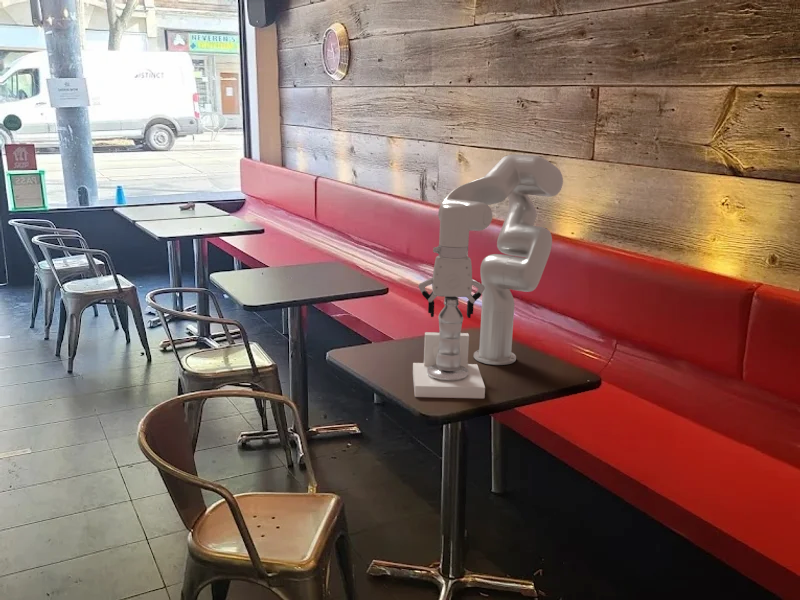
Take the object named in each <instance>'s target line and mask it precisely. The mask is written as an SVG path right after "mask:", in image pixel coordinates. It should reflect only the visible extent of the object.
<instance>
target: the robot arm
mask: <svg viewBox="0 0 800 600" xmlns="http://www.w3.org/2000/svg"><path fill="white" fill-rule="evenodd" d="M563 179H564V178H563V173H562V172H561V170H560V169H559V168H558V167H557V166H556V165H554V164H553V163H552V162H550V161H549V160H548V159H546V158H544V157H542V156H539V155H529V154H515V153H514V154H508V155H505V156H503V157H502V158H501V159H500V160H499V161H498V162H497V163H496V164H495V165H494V166H493V167H492V168H491V169H490V170H489V171H488V172H487V173H486V174H485V175H484V176H483V177H479V178H477V179H475V180H472V181H470V182H466V183H463V184H462V185H459V186H458V187H455V188H454V189H453V190H451V191H450V193H448V194H447V196H445V197H444V199H442V202H441V203H440V206H439V208H438V212H437V213H438V215H437V216H438V220H439V237H438V241H439V242H438V245H437V246H436V247H432V248H433V249H432V252H433V253H436V254H438V255H437V256H435V259H434V260H435V261H434V265H433V273H432V277H431V278H428V279H426V280H424V281H422V282H420V283H418V284H417V285H418V289H419V291H420V292H421V294H422V296H423V297H424V299H426V300H427V302H428V305H427V307H428V309H427V313H428V314H430V317H431V318H434V316H435V299H436V298H437V297H444V298H445V297H458V298H467V302H466V303H467V304H466V317H467V318H468V319H471V317H472V316H471V315H473V314H474V304H475V303H476V301H477V300H479V299H480V298H481V315H480V334H479V348H478V350H476V351H474V352H473V358H474V360H475V361H477V362H479V363H482V364H486V365H492V366H503V365H504V366H505V365H510V364H514V363H515V362H516V360H517V355H516V354H515V353H514V352H512V348H513V347H512V344H513V331H514V316H515V300H514V299H515V298H514V297H513V294H512V292H511V290H512V291H518V292H525V293H527V292H528V293H529V292H533V291H534V290H536V289H537V287H538V285H539V283H540V282H541V281H540V280H541V279H542V275H543V273H544V270H545V267H546V265H547V262H548V260H549V257H550V254H551V251H552V245H553V237H552V233H551V231H550V230H549V229H548V228H546V227H543V226H541V225H540V226H539V225H534V224H535V222H536V220H537V214H538V213H537V210H536V207H535V205H534V203H533V202H532V201H531V199H530V196H539V197H548V198H549V197H550V198H552V197H555V196H557V195H558V194H559V193H560V192H561V190H562V189H563V183H564V180H563ZM507 198H508V210H507V214H506V216H505V219H504V221H503V223H502V227H501V229H500V231H499V234H498V237H497V240H496V241H497V242H496V248H497V250H498V251H499V252H500V253H502V254H499V253H493V254H488V255H487V256H485V257H484V258H483V259H482V260H481V263H480V273H479V274H480V280H481V281H479V282H478V281H477V280H475V279H473V267H472V260H471V259H472V258H470V256H469V239H470V237H469V236H470V231H475V232H476V231H477V232H479V231H483V230H485V229H487V228H488V227H489V226H490V225H491V223H492V220H493V210H492V208H491V205H495V204H499V203H502V202H503V201H505V200H506V199H507ZM480 282H481V283H480ZM430 285H431V286H432V287H431V288H432V289H431V290H432V291H431V292H430V293H429V292H428V291H427V290H426V288H427V287H428V286H430ZM473 287H475V288H477V291H476V292H474V294H472V290H473ZM481 296H482V297H481Z"/></svg>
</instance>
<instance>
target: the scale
mask: <svg viewBox="0 0 800 600" xmlns="http://www.w3.org/2000/svg"><path fill="white" fill-rule="evenodd" d="M439 341H440V332H429V331H426V332H424V345H423V346H424V349H423V362H413V363H412V378H413V379H412V381H413V390H414V398H440V399H441V398H448V399H450V398H451V399H452V398H454V399H485V397H486V395H485V394H486V386H485V383H484V380H483V377H482V375H481V371H480V369H479V366H478V364H477V363H476V364H475V363H474V364H473V363H469V348H470V345H469V344H470V343H469V342H470V335H469V333H468V332H466V333H465V332H461V333H460V342H459V343H460V357H461V363H460V365H461V366H463V367H465V368H467V369H468V377H467V378H465V379H462V380H457V381H443V380H438V379H434V378H432V377H430V376H429V375H428V374H427V369H428V367H429V366H431V365H434V364H436V357H437V353H438V348H439Z"/></svg>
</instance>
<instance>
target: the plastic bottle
mask: <svg viewBox="0 0 800 600" xmlns="http://www.w3.org/2000/svg"><path fill="white" fill-rule="evenodd" d="M443 305H444V306H443V308H442V309H441V311H440V312H439V313H438V327H439V329H438V330H439V333H440V341H439V348H438V353H437V357H436V364H437V367H438V368H439V369H440V370H443V371H455V370H457V369H458V368H459V367H460V363H461V357H460V343H459V342H460V333H462V332H461V331H462V326H463V321H464V315H463V313H462V311H461V310H460V308H459V307H458V306H459V305H460V302H459V297H444V299H443Z"/></svg>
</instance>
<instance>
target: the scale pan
mask: <svg viewBox="0 0 800 600" xmlns="http://www.w3.org/2000/svg"><path fill="white" fill-rule="evenodd" d="M427 374H428V375H429V376H430V377H432V378H434V379H438V380H443V381H457V380H462V379H465V378H467V377H468V369H467V368H465V367H463V366H461V365H460V367H459V368H458V369H457V370H455V371H443V370H440V369H439V368H438V367H437V364H434V365H431V366H429V367H428V369H427Z"/></svg>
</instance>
